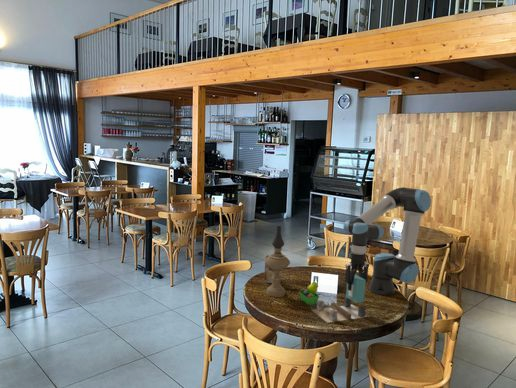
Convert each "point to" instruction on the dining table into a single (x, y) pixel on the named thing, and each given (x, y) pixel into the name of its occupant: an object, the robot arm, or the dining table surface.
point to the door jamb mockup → (339, 311)
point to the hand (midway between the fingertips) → (355, 295)
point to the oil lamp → (277, 265)
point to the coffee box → (268, 273)
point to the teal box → (357, 290)
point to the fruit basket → (310, 294)
